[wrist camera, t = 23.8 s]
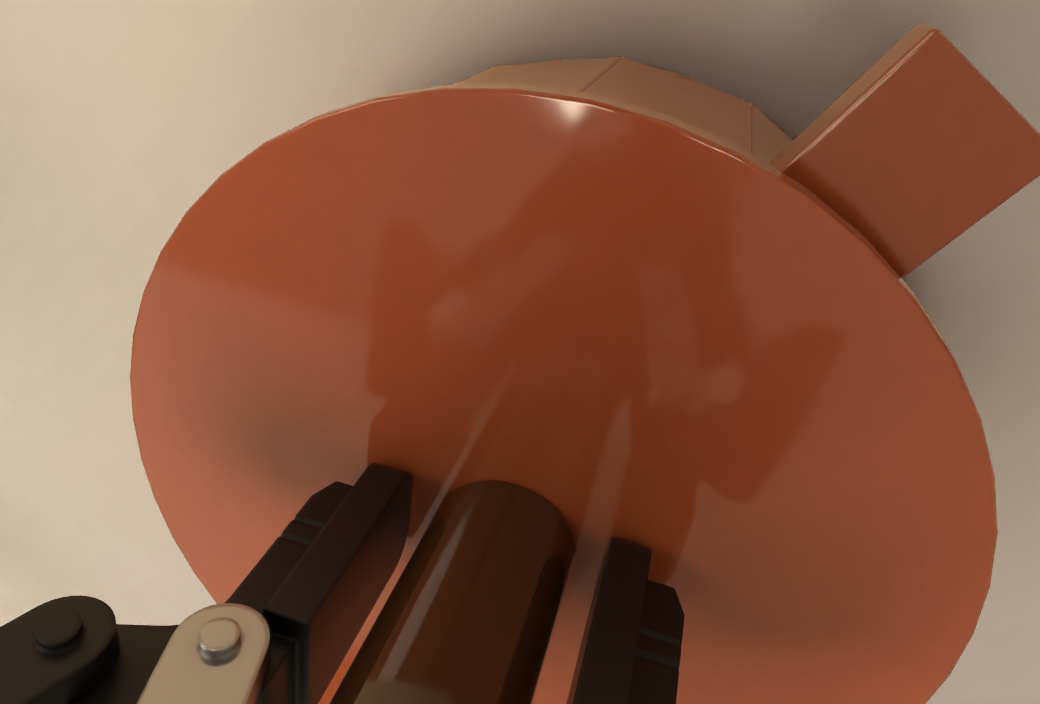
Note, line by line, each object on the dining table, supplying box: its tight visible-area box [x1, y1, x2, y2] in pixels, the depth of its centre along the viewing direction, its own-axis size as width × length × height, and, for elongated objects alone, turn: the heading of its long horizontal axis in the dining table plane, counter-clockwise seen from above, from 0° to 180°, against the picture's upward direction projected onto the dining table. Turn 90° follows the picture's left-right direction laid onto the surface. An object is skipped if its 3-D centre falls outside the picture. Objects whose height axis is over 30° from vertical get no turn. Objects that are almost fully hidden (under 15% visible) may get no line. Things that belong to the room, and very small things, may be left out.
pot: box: [318, 23, 1040, 704], centre depth 17 cm, size 14×20×7 cm
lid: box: [130, 84, 997, 704], centre depth 12 cm, size 15×15×6 cm
